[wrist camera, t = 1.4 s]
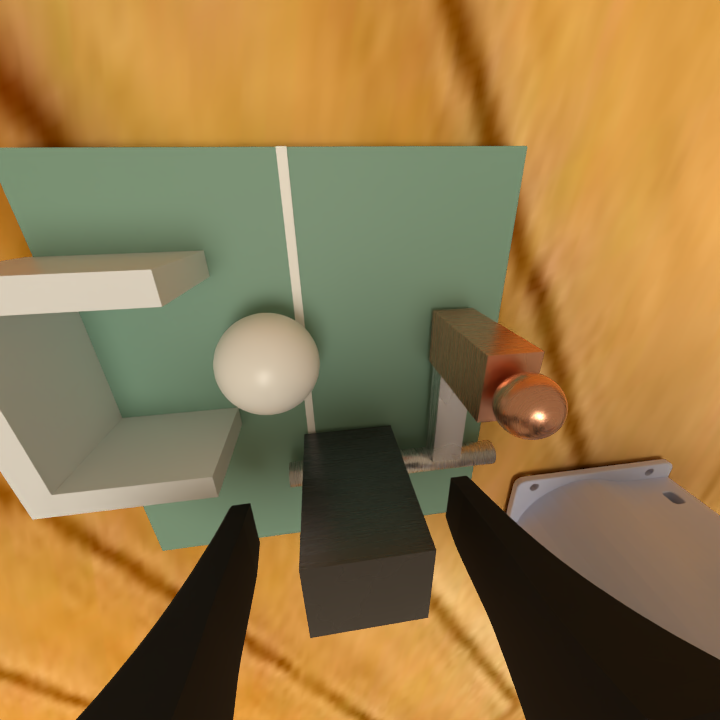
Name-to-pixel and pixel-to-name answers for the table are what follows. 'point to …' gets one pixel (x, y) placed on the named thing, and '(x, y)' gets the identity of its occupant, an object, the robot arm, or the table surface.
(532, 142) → the table surface
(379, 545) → the knob lever
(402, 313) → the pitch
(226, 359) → the ball
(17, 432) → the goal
